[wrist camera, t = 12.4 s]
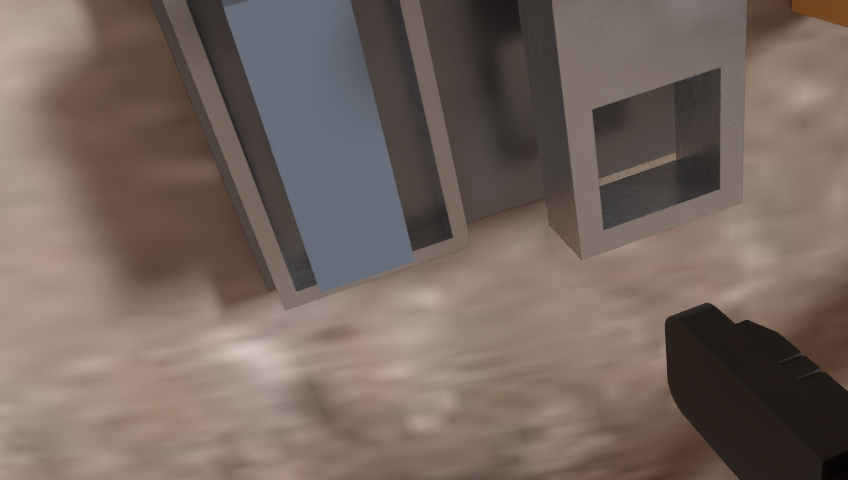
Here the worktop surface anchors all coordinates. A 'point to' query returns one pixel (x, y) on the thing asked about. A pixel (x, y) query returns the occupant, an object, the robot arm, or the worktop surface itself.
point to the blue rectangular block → (323, 133)
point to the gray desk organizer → (500, 119)
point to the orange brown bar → (823, 10)
